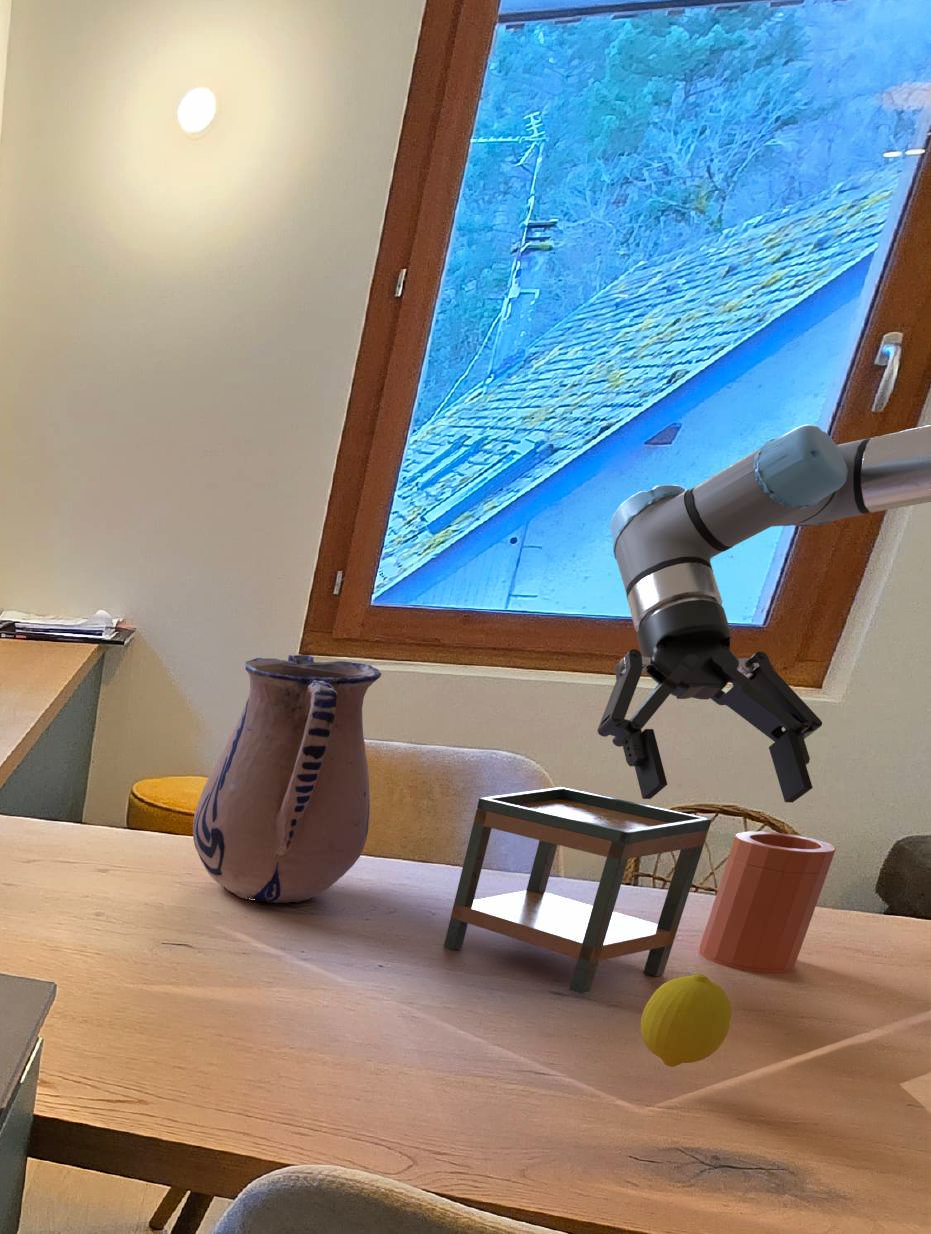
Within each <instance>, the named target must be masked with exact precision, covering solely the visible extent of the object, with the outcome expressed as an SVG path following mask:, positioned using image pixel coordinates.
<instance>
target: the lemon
mask: <svg viewBox="0 0 931 1234" xmlns="http://www.w3.org/2000/svg"><path fill="white" fill-rule="evenodd" d="M731 1020H732V1005H731V1000H730V998H729V995H728V994H727V992H726V991H725V990H724V988H722V987H721V986H720V985H719V984H717V982H715V981H713V980H712V979H709V978H708V977H707V975H706V974H703V973H700V972H699V973H695V974H693V975H684V976H679V977H675V978H673V979H670V980H668V981H666V982H664V983H663V984H661V985H659V987H657V988H656V990H655V991H654V992H653V994H652V995H651V996H650V998H649V999H648V1001H647V1003H646V1004H645V1006H644V1008H643V1010H642V1014H641V1019H640V1036H641V1039H642V1042H643V1043H644V1045H645V1046H646V1048H647V1049H648V1050H649V1051H650V1052H651V1053H652V1054H653V1055H655V1056H656V1057H658V1058H659V1059H660V1060H661V1061H662V1062H663V1064H664V1065H665V1066H667V1067H670V1068H675V1067H678V1066H679V1065H682V1064H691V1063H692V1064H693V1063H696V1062H700V1061H702V1060H704V1059H707V1058H708V1057H710V1056H711V1055H713V1054H714V1053H715V1052H716V1051H717V1050H719V1049H720V1047H721V1046H722V1045H723V1043H724V1041H725V1040H726V1037H727V1035H728V1033H729V1031H730V1026H731Z"/></svg>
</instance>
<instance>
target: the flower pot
mask: <svg viewBox="0 0 931 1234" xmlns="http://www.w3.org/2000/svg"><path fill="white" fill-rule="evenodd" d="M730 848H731V849H730V851H729V855H728V858H727V861H726V864H725V867H724V870H723V873H722V877H721V880H720V881H719V882H720V883H719V886H718V889H717V892H716V895H715V897H714V901H713V904H712V907H711V911H710V913H709V916H708V920H707V923H706V925H705V929H704V933H703V935H702V939H701V941H700V945H699V951H698V952H699V954H700V955H701V956H702V958H705V959H706V960H708V961H710V962H712V963H714V964H717V965H720V966H723V967H726V968H729V969H733V970H736V971H742V972H747V973H753V974H762V975H781V974H786V973H790V972H792V971H794V969H795V966H796V964H797V961H798V959H799V956H800V952H801V949H802V947H803V943H804V941H805V938H806V935H807V933H808V929H809V928H810V924H811V921H812V919H813V915H814V913H815V910H816V908H817V907H816V906H817V905H818V901H819V898H820V895H821V892H822V890H823V887H824V884H825V881H826V878H827V876H828V873H829V870H830V867H831V864H832V861H833V858H834V856H835V853H836V850H837V847H836V846H834V845H833V844H831V843H830V842H827V841H823V840H820V839H817V838H813V837H807V836H804V835H797V834H790V833H784V832H775V831H761V830H759V831H758V830H757V831H753V830H752V831H749V830H748V831H742V832H738V833H736V835H735V836H734V839H733V843H732V845H731V847H730Z"/></svg>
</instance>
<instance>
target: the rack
mask: <svg viewBox="0 0 931 1234" xmlns="http://www.w3.org/2000/svg"><path fill="white" fill-rule="evenodd" d="M712 822H713V819H712V818H709V817H704V816H700V815H694V814H690V813H685V812H680V811H675V810H671V809H666V808H662V807H657V806H651V805H648V804H643V803H639V802H633V801H628V800H624V799H620V798H615V797H610V796H606V795H600V794H596V793H591V792H587V791H581V790H577V789H573V788H567V787H563V786H558V787H552V788H545V789H537V790H530V791H522V792H516V793H515V792H514V793H508V794H500V795H492V796H486V797H479V798H478V802H477V805H476V811H475V815H474V818H473V823H472V827H471V832H470V836H469V840H468V844H467V848H466V853H465V856H464V859H463V865H462V869H461V873H460V877H459V880H458V886H457V889H456V893H455V897H454V902H453V906H452V910H451V913H450V918H449V922H448V927H447V931H446V935H445V940H444V943H443V947H444V948H448V949H450V950H453V951H455V950H459V949H460V950H461V949H462V948H463V946H464V942H465V938H466V933H467V930H468V925H472V926H475V927H478V928H482V929H485V930H487V931H491V932H494V933H497V934H500V935H503V936H507V937H509V938H513V939H515V940H519V941H520V942H521V941H522V942H525V943H528V944H530V945H533V946H537V947H539V948H543V949H546V950H549V951H553V952H555V953H559V954H562V955H566V956H568V957H571V958H574V959H577V960H576V965H575V967H574V971H573V975H572V979H571V981H570V985H569V989H568V990H570V991H572V992H575V993H578V994H581V995H582V994H586V993H590V992H591V989H592V985H593V982H594V978H595V975H596V971H597V968H598V965H599V962H600V961H606V960H609V959H614V958H620V957H622V956H623V957H624V956H627V955H633V954H636V953H641V952H642V953H643V952H646V951H649V952H648V955H647V959H646V961H645V965H644V969H643V974H646V975H650V976H652V977H659V976H663V975H664V974H665V970H666V967H667V964H668V961H669V958H670V954H671V951H672V948H673V946H674V942H675V938H676V935H677V932H678V929H679V927H680V922H681V920H682V916H683V913H684V910H685V907H686V903H687V900H688V897H689V894H690V891H691V887H692V885H693V881H694V878H695V875H696V871H697V868H698V865H699V861H700V859H701V856H702V852H703V849H704V845H705V843H706V839H707V837H708V833H709V830H710V827H711V824H712ZM492 830H498V831H501V832H505V833H509V834H513V835H517V836H521V837H525V838H528V839H533V840H536V841H538V845H537V848H536V852H535V856H534V859H533V863H532V868H531V871H530V874H529V875H530V876H529V879H528V882H527V887H526V890H521V891H515V892H510V893H504V894H500V895H494V896H487V897H483V898H476V893H477V889H478V884H479V881H480V877H481V873H482V868H483V865H484V861H485V856H486V853H487V849H488V844H489V840H490V836H491V833H492ZM558 846H561V847H565V848H568V849H571V850H572V849H573V850H577V851H581V852H585V853H589V854H593V855H597V856H601V857H604V858H606V859H605V862H604V866H603V869H602V873H601V876H600V880H599V882H598V883H599V884H598V887H597V889H596V894H595V898H594V901H593V905H591V904H587V903H585V902H581V901H577V900H574V899H571V898H567V897H563V896H561V895H556V894H554V893H549V892H546V890H547V886H548V882H549V879H550V875H551V871H552V867H553V864H554V860H555V856H556V853H557V848H558ZM675 851H679V854H678V856H677V861H676V864H675V867H674V870H673V874H672V877H671V880H670V883H669V887H668V889H667V893H666V895H665V900H664V902H663V906H662V909H661V913H660V916H659V918H658V923H655V922H651V921H649V920H648V921H647V920H644V919H641V918H638V917H634V916H631V915H627V914H623V913H620V912H616V911H614V910H615V906H616V903H617V900H618V896H619V893H620V889H621V887H622V882H623V879H624V875H625V873H626V870H627V866H628V862H629V859H636V858H640V857H641V858H642V857H646V856H647V857H648V856H654V855H657V854H659V855H660V854H665V853H670V852H675ZM475 898H476V899H475Z"/></svg>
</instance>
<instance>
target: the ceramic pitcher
mask: <svg viewBox="0 0 931 1234" xmlns="http://www.w3.org/2000/svg"><path fill="white" fill-rule="evenodd" d="M314 660H315V659H314V656H312V655H309V654H295V655H291V654H289V655H288V657H287V660H285V659H278V658H264V657H263V658H262V657H256V658H253V659H250V660H247V661H245V671H246V672H247V674H248V677H249V694H248V697H247V699H246V702H245V705H244V707H243V710H242V712H241V715H240V716H239V719H238V720H237V722H236V724H235V725H234V728H233V729H232V731H231V733H230V735H229V737H228V739H227V742H226V744H225V746H224V747H223V749H222V751H221V753H220V755H218V758H217V760H216V762H215V765H214V766H213V768H212V770H211V772H210V774H209V776H208V778H207V780H206V782H205V784H204V786H203V789H202V791H201V793H200V796H199V799H198V801H197V803H196V807H195V810H194V811H195V812H194V816H193V821H192V839H193V843H194V847H195V850H196V852H197V855H198V856H199V859H200V861H201V863H202V865H203V867H204V868H205V870H206V871H207V874H208V875H209V876H210V877H211V879H212V880H214V881H215V882H216V883H217V884H219V885H220V886H222V888H224V887H225V888H226V890H228V892H231V893H233V894H234V895H236V896H237V897H239V898H241V899H244V898H247V899H249V898H250V899H255V900H260V901H259V902H264V901H266V903H272V902H273V903H272V904H290V903H289V902H296V903H301V902H303V900H304V901H307V900H309V899H312V898H314V897H316V896H318V895H320V894H321V893H323V892H325V891H326V890H328V889H330V887H331V886H333V885H334V884H336V883H337V882H338V881H339V879H341V878H342V877H344V876H345V874H346V873H348V872H349V870H351V868H352V867H353V866H354V865H355V864H356V862H357V861H358V860H359V859H360V858H361V856H362V854H363V851H364V848H365V845H366V842H367V838H368V834H369V826H370V816H371V815H370V814H371V813H370V812H371V794H370V774H369V765H368V759H367V752H366V742H365V737H364V727H363V726H364V724H363V723H364V722H363V705H364V699H365V696H366V693H367V691H368V689H369V688H370V687H371V686H372V685H373V684H374V683H375V682H376V681H377V680H378V679H380V678H381V677H382V672H381V671H380V670H379V669H378V668H376V667H373V666H372V665H371V664H366V663H361V662H352V661H345V660H336V661H326V662H324V661H314ZM225 888H224V889H225ZM300 901H301V902H300Z"/></svg>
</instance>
